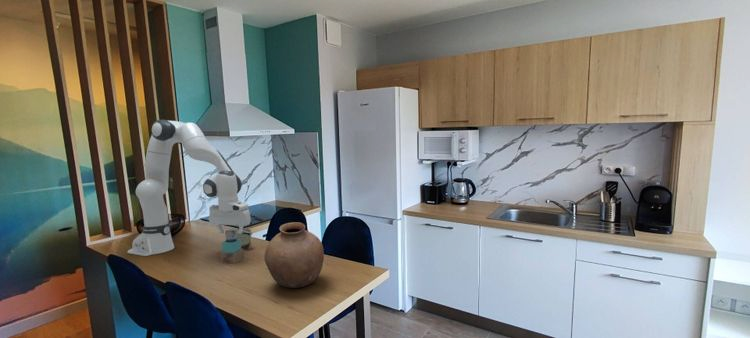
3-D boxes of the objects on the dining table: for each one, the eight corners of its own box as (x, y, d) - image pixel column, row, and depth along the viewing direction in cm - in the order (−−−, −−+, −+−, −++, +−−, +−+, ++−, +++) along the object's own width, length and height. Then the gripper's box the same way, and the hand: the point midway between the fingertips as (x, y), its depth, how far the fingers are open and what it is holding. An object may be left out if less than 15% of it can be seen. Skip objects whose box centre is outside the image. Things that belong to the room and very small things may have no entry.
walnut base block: (222, 263, 170) (221, 253, 170) (230, 257, 177) (229, 248, 177) (235, 263, 169) (234, 253, 169) (243, 258, 176) (242, 248, 175)
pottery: (300, 268, 160) (297, 214, 158) (337, 281, 146) (334, 221, 143) (255, 287, 143) (250, 226, 140) (291, 303, 128) (287, 236, 125)
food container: (257, 246, 193) (255, 228, 192) (252, 250, 187) (250, 231, 186) (235, 246, 195) (233, 228, 193) (229, 250, 188) (228, 231, 187)
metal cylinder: (223, 242, 170) (222, 231, 170) (230, 238, 175) (229, 228, 175) (232, 242, 169) (232, 232, 169) (239, 239, 174) (238, 229, 173)
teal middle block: (222, 252, 170) (221, 242, 170) (230, 248, 176) (229, 238, 176) (234, 253, 169) (233, 243, 168) (241, 249, 175) (240, 239, 174)
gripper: (204, 206, 169) (207, 234, 171) (244, 207, 165) (246, 236, 167) (213, 203, 175) (215, 230, 177) (251, 204, 171) (253, 232, 173)
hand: (230, 233), depth 172 cm, fingers open, 8 cm apart
